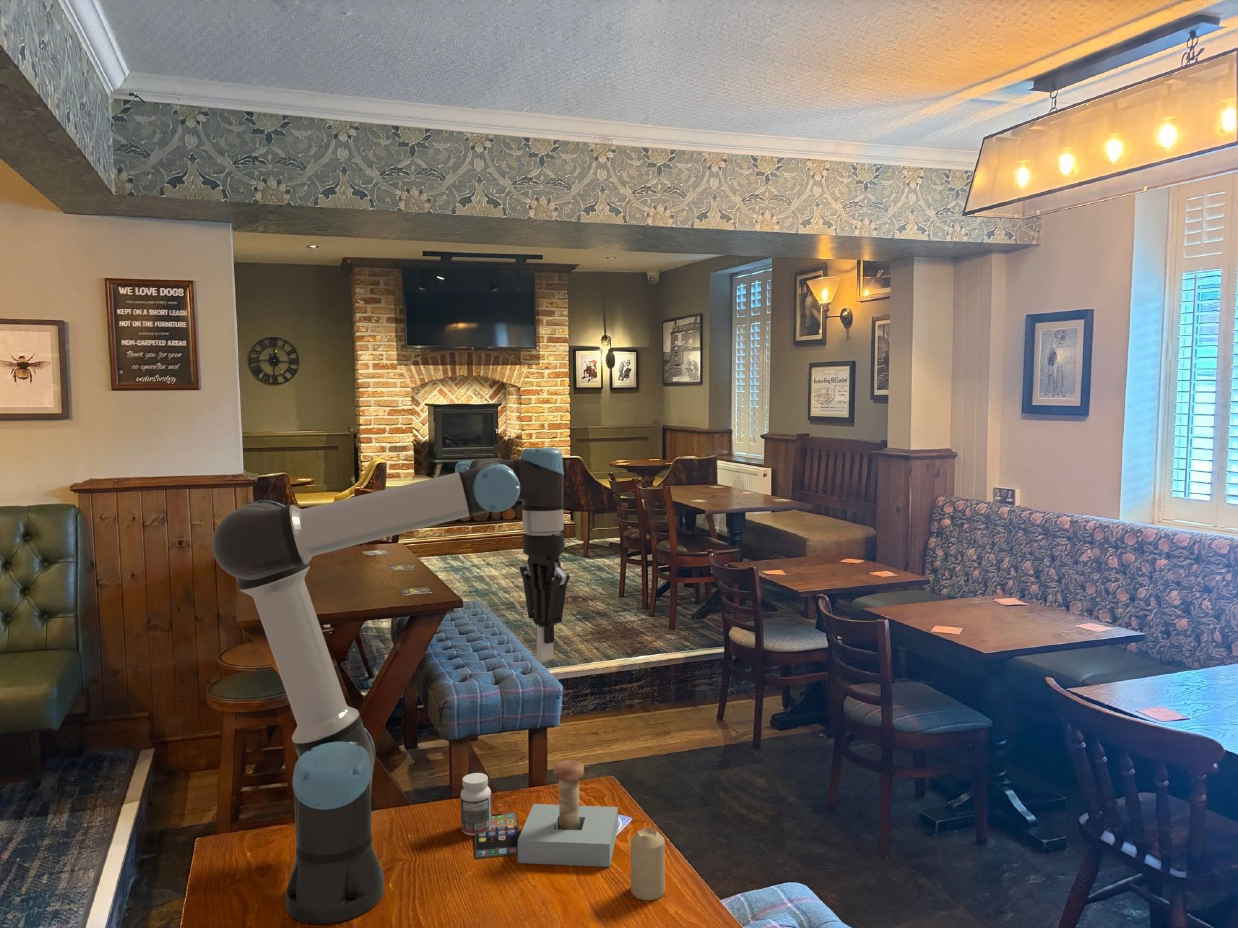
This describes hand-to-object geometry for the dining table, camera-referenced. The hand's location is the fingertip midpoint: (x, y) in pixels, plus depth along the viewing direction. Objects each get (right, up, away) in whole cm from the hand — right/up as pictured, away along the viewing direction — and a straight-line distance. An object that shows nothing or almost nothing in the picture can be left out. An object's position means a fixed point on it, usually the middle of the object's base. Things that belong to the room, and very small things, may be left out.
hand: (545, 659), depth 159 cm
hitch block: (+5, -33, -4) cm, 33 cm away
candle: (+18, -34, -19) cm, 43 cm away
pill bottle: (-13, -33, +2) cm, 35 cm away
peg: (+5, -33, -4) cm, 33 cm away
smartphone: (-9, -33, 0) cm, 34 cm away
